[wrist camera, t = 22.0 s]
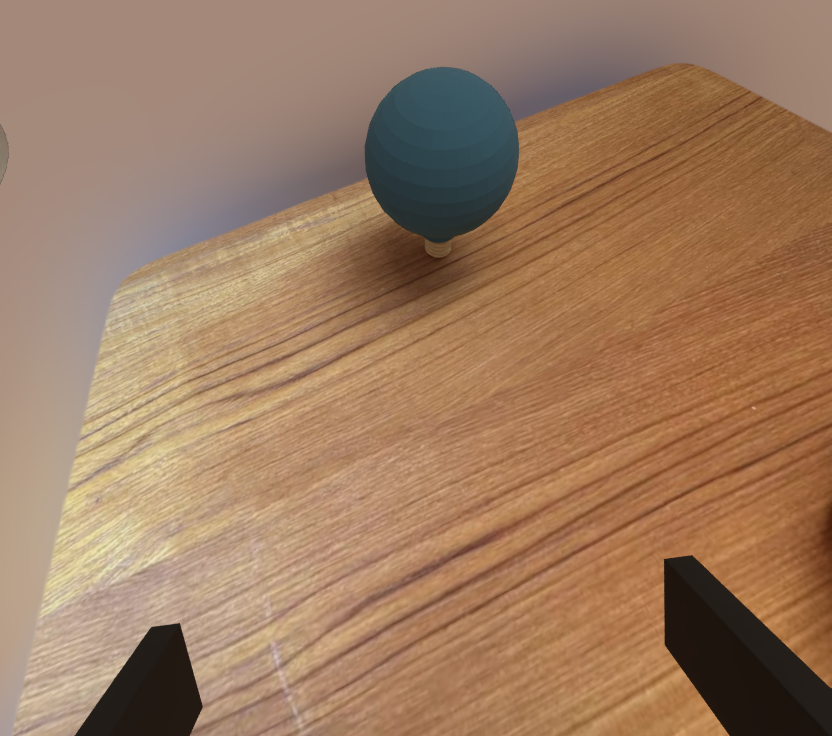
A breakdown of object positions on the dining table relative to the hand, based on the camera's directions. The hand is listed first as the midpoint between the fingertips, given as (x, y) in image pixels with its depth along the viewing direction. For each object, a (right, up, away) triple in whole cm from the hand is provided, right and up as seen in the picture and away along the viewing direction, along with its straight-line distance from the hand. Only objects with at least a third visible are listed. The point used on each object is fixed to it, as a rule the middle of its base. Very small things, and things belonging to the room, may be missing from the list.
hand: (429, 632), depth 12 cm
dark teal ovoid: (+1, +15, +20) cm, 25 cm away
